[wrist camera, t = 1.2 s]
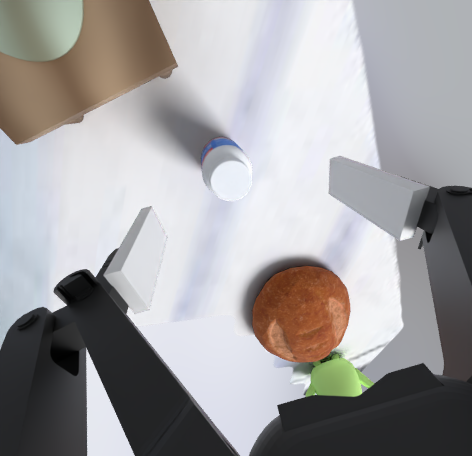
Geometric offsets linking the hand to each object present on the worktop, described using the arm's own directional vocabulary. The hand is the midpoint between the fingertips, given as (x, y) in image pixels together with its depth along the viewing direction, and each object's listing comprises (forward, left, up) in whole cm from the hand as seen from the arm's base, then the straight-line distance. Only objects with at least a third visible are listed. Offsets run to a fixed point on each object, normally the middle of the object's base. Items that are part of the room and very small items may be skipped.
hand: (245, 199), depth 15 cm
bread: (+9, -38, -15) cm, 42 cm away
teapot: (+17, -70, -15) cm, 73 cm away
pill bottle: (0, 0, -15) cm, 15 cm away
